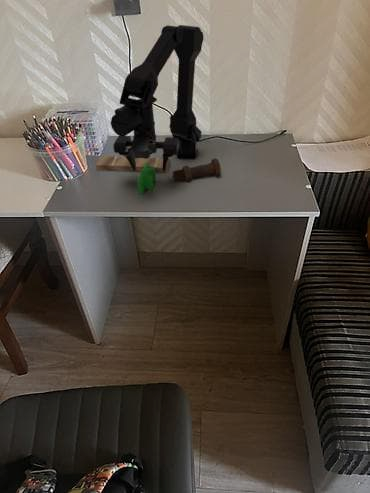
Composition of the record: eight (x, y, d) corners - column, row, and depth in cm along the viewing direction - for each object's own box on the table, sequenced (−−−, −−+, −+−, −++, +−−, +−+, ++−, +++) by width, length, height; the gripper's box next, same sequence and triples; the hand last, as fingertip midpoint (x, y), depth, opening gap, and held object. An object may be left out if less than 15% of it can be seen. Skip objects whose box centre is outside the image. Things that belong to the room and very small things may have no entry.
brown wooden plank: (170, 164, 128) (169, 158, 126) (167, 173, 123) (166, 167, 122) (102, 161, 131) (101, 155, 129) (97, 170, 126) (95, 164, 125)
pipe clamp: (151, 195, 115) (149, 182, 112) (139, 194, 115) (137, 181, 112) (157, 175, 123) (156, 162, 120) (146, 175, 123) (144, 162, 120)
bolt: (173, 185, 122) (217, 175, 124) (176, 185, 117) (222, 176, 119) (170, 167, 120) (214, 158, 123) (172, 166, 116) (218, 157, 118)
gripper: (103, 133, 100) (112, 183, 111) (171, 135, 98) (175, 186, 109) (114, 116, 109) (122, 164, 119) (178, 118, 106) (180, 166, 117)
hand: (149, 170), depth 116 cm, fingers open, 9 cm apart
